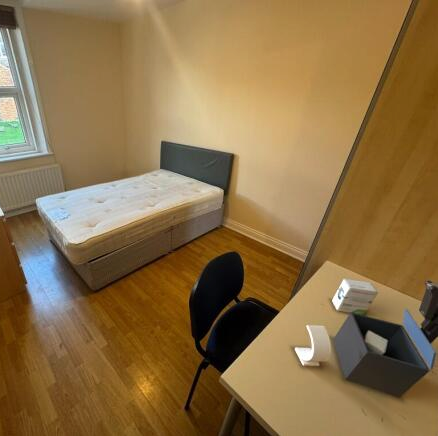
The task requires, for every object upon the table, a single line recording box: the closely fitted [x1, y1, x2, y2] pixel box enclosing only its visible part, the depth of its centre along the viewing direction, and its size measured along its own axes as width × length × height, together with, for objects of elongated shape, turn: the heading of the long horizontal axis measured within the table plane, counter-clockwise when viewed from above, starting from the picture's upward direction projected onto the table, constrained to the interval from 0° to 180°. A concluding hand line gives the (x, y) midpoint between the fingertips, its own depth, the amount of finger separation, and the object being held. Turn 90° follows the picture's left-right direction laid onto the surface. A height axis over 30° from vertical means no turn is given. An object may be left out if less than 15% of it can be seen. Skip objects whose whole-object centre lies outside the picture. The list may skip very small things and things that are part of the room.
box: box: [363, 331, 388, 355], centre depth 66 cm, size 5×4×11 cm
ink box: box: [331, 278, 379, 316], centre depth 83 cm, size 9×5×12 cm, turn 75°
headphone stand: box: [294, 324, 332, 367], centre depth 68 cm, size 5×6×12 cm
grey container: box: [333, 312, 431, 399], centre depth 65 cm, size 12×13×14 cm
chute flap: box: [402, 308, 437, 370], centre depth 58 cm, size 6×13×1 cm
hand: (423, 338), depth 58 cm, fingers closed
